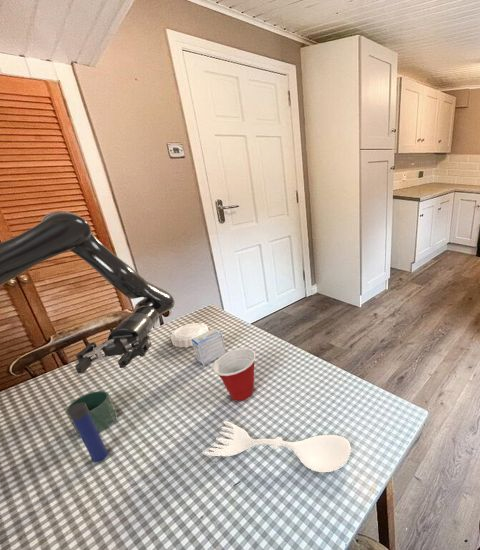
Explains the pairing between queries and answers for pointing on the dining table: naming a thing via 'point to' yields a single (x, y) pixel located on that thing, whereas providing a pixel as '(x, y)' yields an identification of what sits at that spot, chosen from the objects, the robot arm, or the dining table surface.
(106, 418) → the tumbler
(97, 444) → the marker
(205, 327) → the mooncake
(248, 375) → the plastic cup
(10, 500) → the dining table surface
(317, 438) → the white spork
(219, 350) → the medicine box
